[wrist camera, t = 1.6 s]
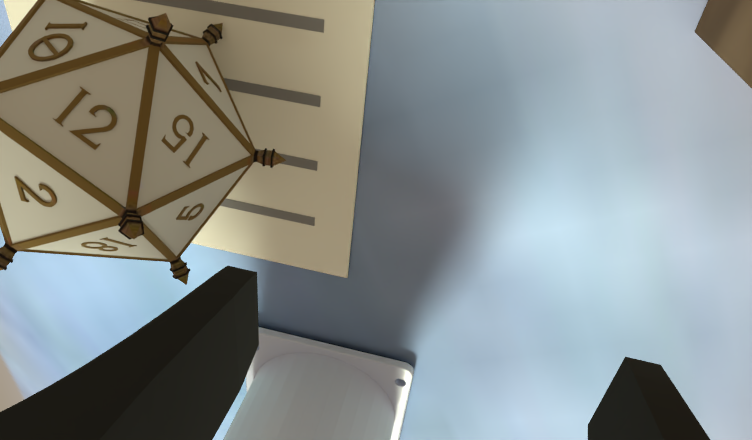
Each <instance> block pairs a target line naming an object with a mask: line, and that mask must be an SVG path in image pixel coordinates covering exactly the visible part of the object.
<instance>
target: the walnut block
mask: <svg viewBox="0 0 752 440" xmlns="http://www.w3.org/2000/svg"><path fill="white" fill-rule="evenodd" d="M695 33H696V34H697V35H698V36H699V37H700V38H701V39H702V40H703V41H704V42H705V43H706V44H707V45H708V46H709V47H710V48H711V49H712V50H713V51H714V52H715V53H716V54H717V55H718V56H720V57H721V58H722V59H723V60H724V61H725V62H726V63H727V64H728V65H729V66H730V67H731V68H732V69H733V70H734V71H735V72H736V73H737V74H738V75H739V76H740V77H741V78H742V79H743V80H744V81H745V82H746V83H747V84H748V85H749V86H750V87H751V88H752V0H708V2H707V5H706V7H705V9H704V11H703V14H702V16H701V18H700V21H699V23H698V25H697V28H696V30H695Z"/></svg>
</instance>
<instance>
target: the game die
mask: <svg viewBox="0 0 752 440" xmlns="http://www.w3.org/2000/svg"><path fill="white" fill-rule="evenodd" d="M148 21H149V22H148ZM148 21H145V20H142V19H139V18H136V17H132V16H129V15H126V14H123V13H120V12H116V11H113V10H110V9H107V8H104V7H100V6H97V5H94V4H91V3H88V2H84V1H81V0H37V2H36V3H35V4H34V5H33V7H32V8H31V9H30V10H29V12H28V13H27V14H26V16H25V17H24V18H23V19H22V21H21V22H20V23H19V24H18V26H17V27H16V28H15V29H14V31H13V32H12V33H11V34H10V36H9V37H8V38H7V40H6V41H5V42H4V43H3V45H2V46H1V47H0V227H1V230H2V233H3V236H4V240H5V245H4V246H3V247H1V248H0V270H3V269H4V270H6V269H7V267H6V266H7V265H8V264H9V263H10V262H11V263H12V262H13V259H12V258H13V256H14V254H15V253H16V252H17V251H24V252H38V253H52V254H66V255H80V256H94V257H108V258H122V259H137V260H151V261H165V262H170V263H171V269H170V271H172V272H173V274H174V275H173V278H175V279H179V280H180V281H182V282H183V283H185V284H186V285H187V280H188V273H189V271H190V269H188V268H187V266H186V265H187V263H184V262H183V261H182V260H181V258H180V256H181V255H182V253H183V252H184V251H185V250H186V248H187V247H188V246H189V245H190V243H191V242H192V241H193V239H194V238H195V237H196V236H197V234H198V233H199V232H200V230H201V229H202V228H203V227H204V225H205V224H206V223H207V222H208V220H209V219H210V218H211V216H212V215H213V214H214V213H215V211H216V210H217V209H218V208H219V206H220V205H221V204H222V202H223V201H224V200H225V199H226V197H227V196H228V195H229V193H230V192H231V191H232V190H233V188H234V187H235V186H236V185H237V183H238V182H239V181H240V179H241V178H242V177H243V176H244V174H245V173H246V172H247V171H248V169H249V168H250V167H251V165H252V164H253V163H254V162H258V163H260V164H262V166H265V165H268V166H270V168H272V167H273V166H274V165H277V164H279V163H282V162H284V161H286V160H285V159H284V158H283V157H282V156H280V155H279V154H278V153H277V152H275V149H273V150H267V148H265V149H264V150H261V151H257V150H255V148H254V146H253V143H252V141H251V139H250V137H249V134H248V132H247V130H246V128H245V125H244V123H243V121H242V119H241V116H240V114H239V112H238V110H237V107H236V105H235V103H234V101H233V98H232V96H231V94H230V92H229V89H228V87H227V85H226V83H225V80H224V78H223V76H222V74H221V72H220V69H219V67H218V65H217V63H216V60H215V58H214V56H213V54H212V51H211V49H210V45H211V44H214V43H215V44H217V43H218V42H217V41H218V40H219V39H222V26H223V23H220V24H214V25H213V24H210V25H209V26H207V28H208V29H206V30H205V31H203V36H202V38H200V37H196V36H193V35H190V34H187V33H184V32H180V31H177V30H174V29H172V28H173V25H172V24H171V23H170V21H169V19H168V16H167V14H166V13H164V14H162V15H159V16H155V17H149V18H148Z"/></svg>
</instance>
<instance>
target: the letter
mask: <svg viewBox="0 0 752 440" xmlns="http://www.w3.org/2000/svg"><path fill="white" fill-rule="evenodd" d="M81 1H84V2H88V3H91V4H94V5H97V6H100V7H104V8H107V9H110V10H113V11H116V12H120V13H123V14H126V15H129V16H132V17H136V18H139V19H142V20H145V21H148V18H149V17H155V16H159V15H162V14H164V13H166V14H167V16H168V19H169V21H170V23H171V24H172V25H173V28H172V29H174V30H177V31H180V32H184V33H187V34H190V35H193V36H196V37H200V38H202V36H203V31H205V30H206V29H208V28H207V26H209V25H210V24H213V25H214V24H220V23H223V26H222V39H219V40H218V41H217V42H218V43H217V44H215V43H214V44H211V45H210V49H211V51H212V54H213V56H214V58H215V60H216V63H217V65H218V67H219V69H220V72H221V74H222V76H223V78H224V80H225V83H226V85H227V87H228V89H229V92H230V94H231V96H232V98H233V101H234V103H235V105H236V107H237V110H238V112H239V114H240V116H241V119H242V121H243V123H244V125H245V128H246V130H247V132H248V134H249V137H250V139H251V141H252V143H253V146H254V148H255V150H257V151H261V150H264V149H265V148H267V150H273V149H275V152H277V153H278V154H279V155H280V156H282V157H283V158H284V159H285V160H286V161H284V162H282V163H279V164H277V165H274V166H273V167H272V168H270V166H268V165H265V166H262V164H260V163H258V162H254V163H253V164H252V165H251V167H250V168H249V169H248V171H247V172H246V173H245V174H244V176H243V177H242V178H241V179H240V181H239V182H238V183H237V185H236V186H235V187H234V188H233V190H232V191H231V192H230V193H229V195H228V196H227V197H226V199H225V200H224V201H223V202H222V204H221V205H220V206H219V208H218V209H217V210H216V211H215V213H214V214H213V215H212V216H211V218H210V219H209V220H208V222H207V223H206V224H205V225H204V227H203V228H202V229H201V230H200V232H199V233H198V234H197V236H196V237H195V238H194V239H193V241H192V242H191V243H193V244H198V245H202V246H207V247H211V248H216V249H220V250H224V251H229V252H233V253H238V254H242V255H247V256H251V257H255V258H260V259H264V260H269V261H273V262H278V263H282V264H286V265H291V266H295V267H300V268H304V269H309V270H313V271H317V272H322V273H326V274H331V275H335V276H340V277H344V278H347V277H348V269H349V258H350V248H351V238H352V228H353V218H354V207H355V197H356V187H357V177H358V167H359V156H360V146H361V136H362V126H363V116H364V106H365V95H366V85H367V75H368V65H369V55H370V44H371V34H372V24H373V14H374V4H375V0H81ZM36 2H37V0H4V3H5V7H6V10H7V14H8V18H9V21H10V25H11V29H12V32H13V31H14V29H15V28H16V27H17V26H18V24H19V23H20V22H21V21H22V19H23V18H24V17H25V16H26V14H27V13H28V12H29V10H30V9H31V8H32V7H33V5H34V4H35V3H36ZM148 22H149V21H148Z"/></svg>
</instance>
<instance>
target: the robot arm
mask: <svg viewBox="0 0 752 440" xmlns="http://www.w3.org/2000/svg"><path fill="white" fill-rule="evenodd" d="M413 374H414V369H413V367H412V366H411V365H409V364H408V363H406V362H402V361H398V360H394V359H390V358H385V357H381V356H377V355H373V354H369V353H365V352H361V351H356V350H352V349H348V348H344V347H340V346H336V345H332V344H327V343H323V342H319V341H315V340H311V339H307V338H303V337H298V336H294V335H290V334H286V333H282V332H278V331H274V330H269V329H265V328H261V327H258V294H257V272H253V271H249V270H244V269H240V268H235V267H231V266H226V267H225V268H223V269H222V270H220V271H219V272H218V273H216V274H215V275H214V276H212V277H211V278H209V279H208V280H207V281H205V282H204V283H203V284H201V285H200V286H199V287H197V288H196V289H195V290H193V291H192V292H191V293H189V294H188V295H187V296H185V297H184V298H183V299H181V300H180V301H178V302H177V303H176V304H174V305H173V306H172V307H170V308H169V309H168V310H166V311H165V312H163V313H162V314H160V315H159V316H158V317H156V318H155V319H153V320H152V321H151V322H149V323H148V324H146V325H145V326H143V327H142V328H141V329H139V330H138V331H136V332H135V333H133V334H132V335H130V336H129V337H127V338H126V339H124V340H123V341H121V342H120V343H118V344H117V345H115V346H114V347H112V348H110V349H109V350H107V351H106V352H104V353H103V354H101V355H100V356H98V357H96V358H95V359H93V360H92V361H90V362H89V363H87V364H86V365H84V366H82V367H81V368H79V369H77V370H76V371H74V372H72V373H71V374H69V375H67V376H66V377H64V378H62V379H61V380H59V381H57V382H55V383H54V384H52V385H50V386H48V387H47V388H45V389H43V390H41V391H39V392H37V393H36V394H34V395H32V396H30V397H28V398H27V399H25V400H23V401H21V402H19V403H17V404H15V405H13V406H12V407H10V408H7V409H6V410H4V411H2V412H0V440H212V439H213V437H214V436H215V434H216V432H217V430H218V429H219V427H220V425H221V423H222V422H223V420H224V418H225V416H226V414H227V413H228V411H229V409H230V407H231V405H232V404H233V402H234V400H235V398H236V396H237V395H238V393H239V391H240V389H241V386H242V384H243V382H244V379H245V377H246V387H247V394H246V396H245V398H244V400H243V402H242V404H241V406H240V408H239V410H238V412H237V413H236V415H235V417H234V419H233V421H232V423H231V425H230V427H229V429H228V431H227V433H226V435H225V437H224V439H223V440H399V438H400V433H401V429H402V424H403V419H404V415H405V410H406V406H407V401H408V397H409V392H410V388H411V383H412V379H413ZM401 379H402V380H401ZM588 440H710V439H709V437H708V436H707V434H706V433H705V431H704V430H703V428H702V427H701V425H700V424H699V422H698V421H697V419H696V418H695V416H694V415H693V413H692V412H691V410H690V409H689V407H688V405H687V404H686V402H685V401H684V399H683V398H682V396H681V395H680V393H679V392H678V390H677V389H676V387H675V386H674V384H673V383H672V381H671V380H670V378H669V377H668V375H667V374H666V372H665V371H664V369H663V368H662V366H661V365H659V364H654V363H650V362H646V361H641V360H637V359H633V358H628V357H625V358H624V360H623V362H622V364H621V366H620V368H619V369H618V371H617V373H616V375H615V377H614V378H613V380H612V382H611V384H610V386H609V388H608V389H607V391H606V393H605V395H604V397H603V398H602V400H601V402H600V404H599V406H598V408H597V409H596V411H595V413H594V415H593V417H592V419H591V420H590V422H589V424H588Z"/></svg>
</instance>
